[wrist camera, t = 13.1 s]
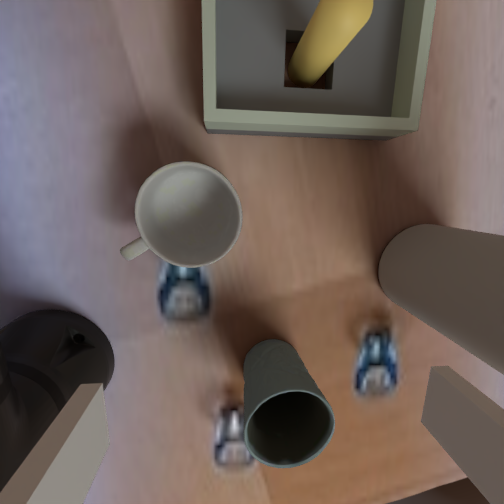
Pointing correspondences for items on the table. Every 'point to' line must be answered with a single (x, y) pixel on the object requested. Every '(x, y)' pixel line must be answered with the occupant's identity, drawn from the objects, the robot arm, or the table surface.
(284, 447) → the grey-green cup
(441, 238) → the cylinder vase
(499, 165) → the table surface
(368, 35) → the box
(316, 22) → the peg
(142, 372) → the table surface
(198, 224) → the teacup
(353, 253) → the table surface
